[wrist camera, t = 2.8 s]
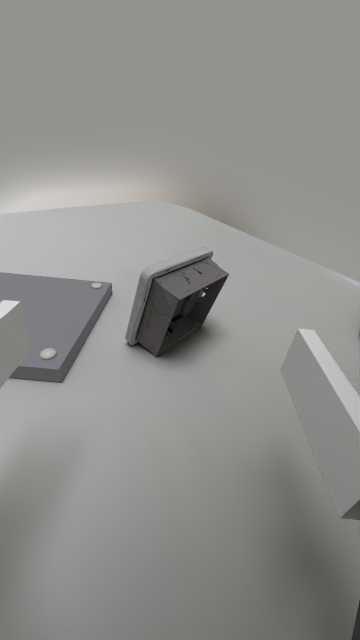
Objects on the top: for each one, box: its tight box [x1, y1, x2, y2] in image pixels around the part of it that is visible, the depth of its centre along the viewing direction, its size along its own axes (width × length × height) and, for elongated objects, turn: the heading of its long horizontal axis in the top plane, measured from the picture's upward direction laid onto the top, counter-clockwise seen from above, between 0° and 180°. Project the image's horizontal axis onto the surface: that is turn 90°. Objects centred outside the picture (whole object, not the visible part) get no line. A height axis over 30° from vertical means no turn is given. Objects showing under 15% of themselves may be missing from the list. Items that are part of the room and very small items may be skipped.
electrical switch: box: [125, 247, 229, 357], centre depth 26 cm, size 9×5×9 cm, turn 140°
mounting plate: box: [0, 272, 112, 382], centre depth 28 cm, size 17×16×2 cm
